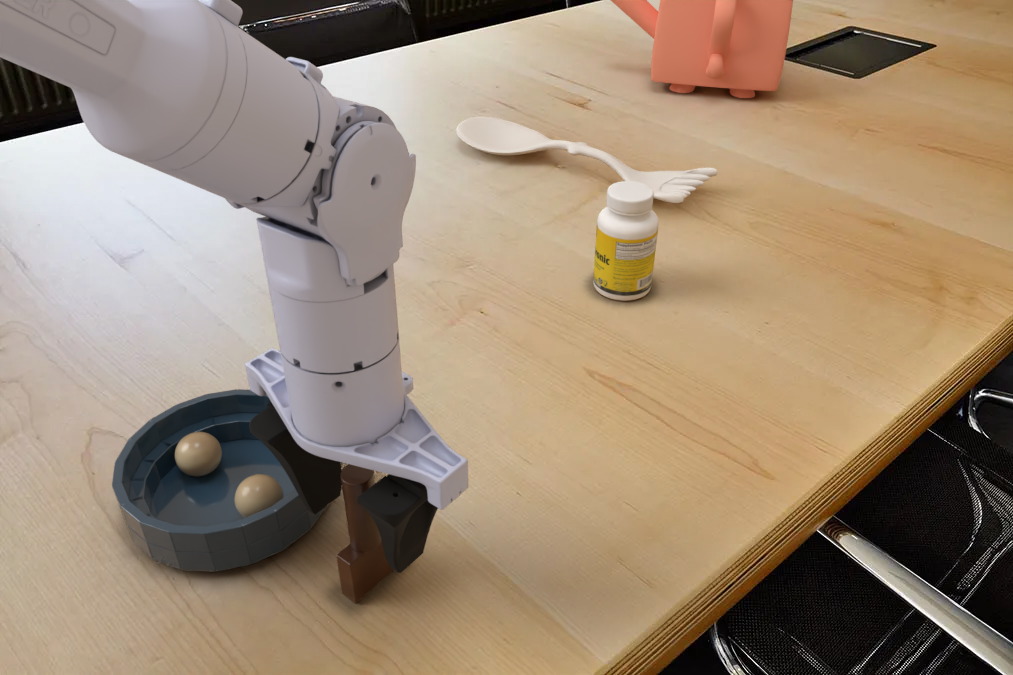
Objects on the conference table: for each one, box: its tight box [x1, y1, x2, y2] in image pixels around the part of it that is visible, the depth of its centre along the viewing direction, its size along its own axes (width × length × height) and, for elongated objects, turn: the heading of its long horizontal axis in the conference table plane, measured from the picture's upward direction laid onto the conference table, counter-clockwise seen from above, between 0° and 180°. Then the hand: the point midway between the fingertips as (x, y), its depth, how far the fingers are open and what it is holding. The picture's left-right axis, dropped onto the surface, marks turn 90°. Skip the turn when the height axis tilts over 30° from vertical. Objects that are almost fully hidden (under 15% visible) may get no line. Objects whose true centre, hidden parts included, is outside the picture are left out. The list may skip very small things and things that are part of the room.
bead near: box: [235, 474, 284, 518], centre depth 54 cm, size 3×3×3 cm
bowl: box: [111, 388, 328, 572], centre depth 56 cm, size 13×13×4 cm
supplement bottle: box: [592, 180, 659, 302], centre depth 76 cm, size 5×5×10 cm
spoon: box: [455, 115, 718, 204], centre depth 99 cm, size 9×32×4 cm, turn 54°
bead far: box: [175, 432, 222, 477], centre depth 58 cm, size 3×3×3 cm
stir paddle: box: [335, 464, 394, 604], centre depth 49 cm, size 4×2×9 cm, turn 142°
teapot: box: [610, 0, 794, 99], centre depth 121 cm, size 25×23×18 cm
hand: (364, 530), depth 49 cm, fingers open, 6 cm apart
